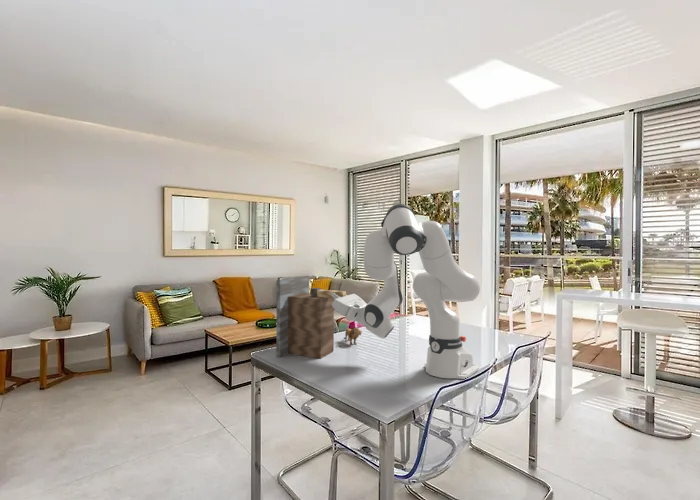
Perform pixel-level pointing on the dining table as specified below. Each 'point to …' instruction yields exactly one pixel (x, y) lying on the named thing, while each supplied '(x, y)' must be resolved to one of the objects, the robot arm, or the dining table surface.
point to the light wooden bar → (326, 293)
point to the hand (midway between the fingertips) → (334, 293)
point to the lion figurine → (352, 334)
